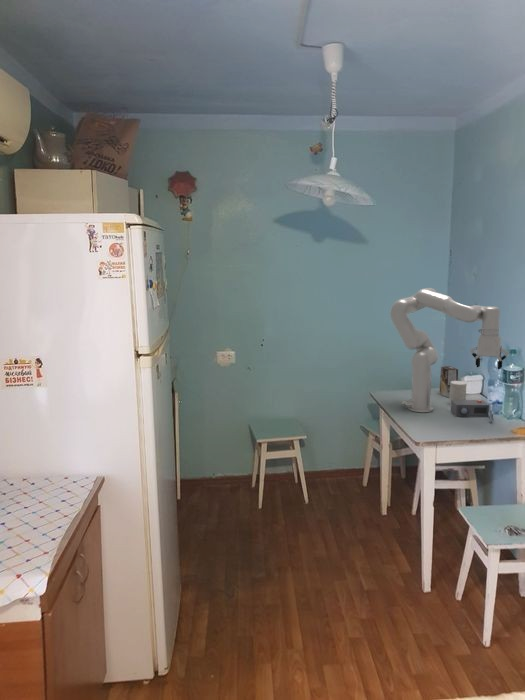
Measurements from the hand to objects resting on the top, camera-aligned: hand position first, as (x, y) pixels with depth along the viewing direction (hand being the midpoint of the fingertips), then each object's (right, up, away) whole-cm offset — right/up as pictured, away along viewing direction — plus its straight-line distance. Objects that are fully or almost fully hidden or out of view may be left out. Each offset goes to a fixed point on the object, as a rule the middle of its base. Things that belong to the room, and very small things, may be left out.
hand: (488, 367), depth 252 cm
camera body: (-3, -24, +16) cm, 29 cm away
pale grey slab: (+4, -26, +6) cm, 27 cm away
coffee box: (-2, -18, +51) cm, 54 cm away
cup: (-3, -21, +33) cm, 39 cm away
